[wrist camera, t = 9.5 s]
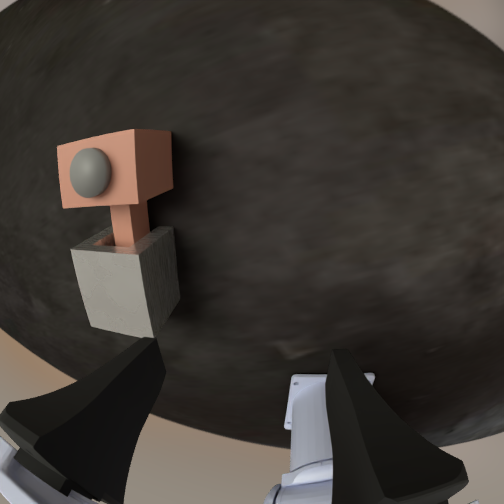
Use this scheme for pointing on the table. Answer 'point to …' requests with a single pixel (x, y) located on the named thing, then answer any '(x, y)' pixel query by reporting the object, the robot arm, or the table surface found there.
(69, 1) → the table surface
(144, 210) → the pink button lever
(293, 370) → the table surface
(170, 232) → the block
